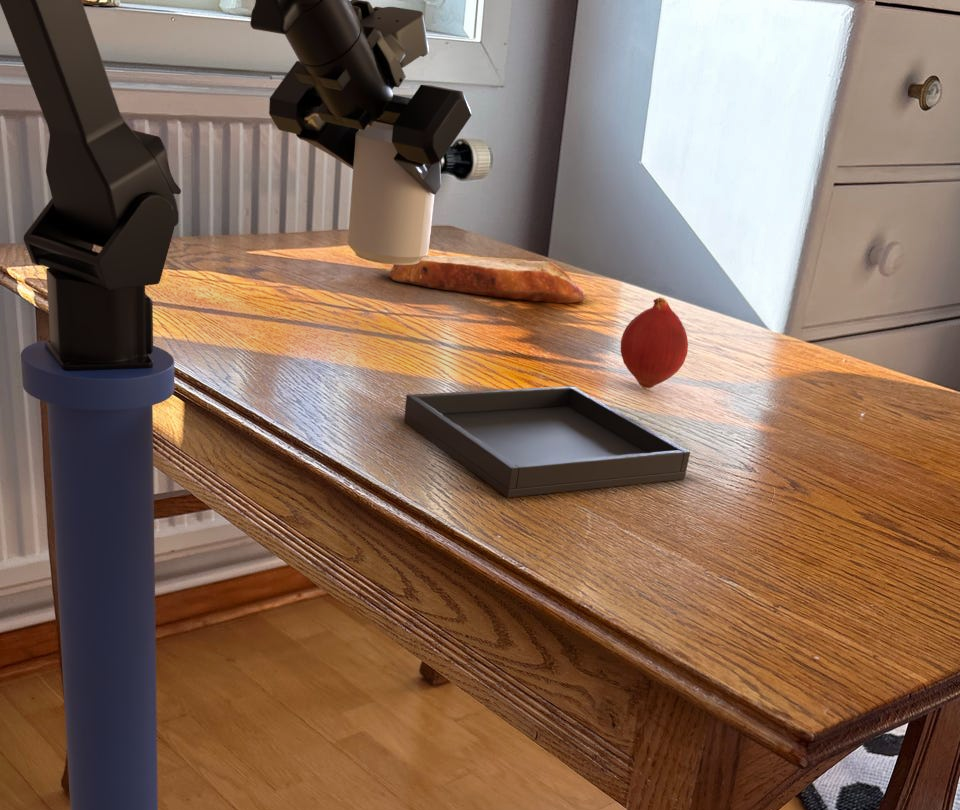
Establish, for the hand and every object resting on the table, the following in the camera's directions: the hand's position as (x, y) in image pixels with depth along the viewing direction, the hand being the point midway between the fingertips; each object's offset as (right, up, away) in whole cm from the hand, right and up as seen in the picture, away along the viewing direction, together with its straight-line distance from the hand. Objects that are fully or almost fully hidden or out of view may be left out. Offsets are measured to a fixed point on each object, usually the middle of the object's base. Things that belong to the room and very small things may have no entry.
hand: (404, 182), depth 107 cm
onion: (+22, -19, -2) cm, 29 cm away
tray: (+11, -28, -20) cm, 36 cm away
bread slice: (+8, -2, +25) cm, 27 cm away
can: (-2, -6, +2) cm, 7 cm away
